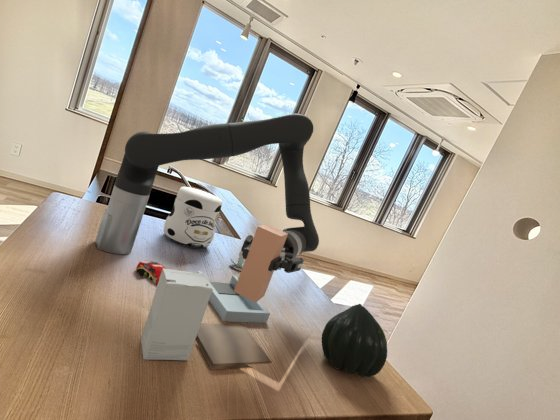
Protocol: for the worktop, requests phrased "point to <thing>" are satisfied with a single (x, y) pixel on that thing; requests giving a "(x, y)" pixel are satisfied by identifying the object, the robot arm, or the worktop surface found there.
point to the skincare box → (175, 315)
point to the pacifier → (239, 262)
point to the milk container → (193, 218)
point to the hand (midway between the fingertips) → (258, 260)
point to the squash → (355, 342)
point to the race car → (150, 270)
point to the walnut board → (229, 346)
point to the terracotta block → (260, 262)
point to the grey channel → (235, 303)
